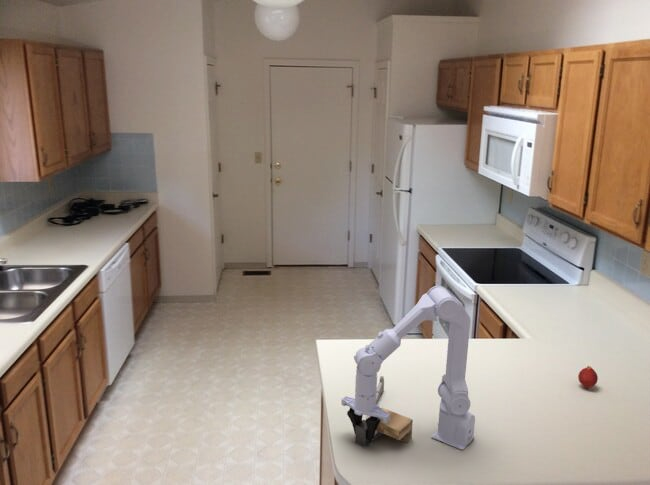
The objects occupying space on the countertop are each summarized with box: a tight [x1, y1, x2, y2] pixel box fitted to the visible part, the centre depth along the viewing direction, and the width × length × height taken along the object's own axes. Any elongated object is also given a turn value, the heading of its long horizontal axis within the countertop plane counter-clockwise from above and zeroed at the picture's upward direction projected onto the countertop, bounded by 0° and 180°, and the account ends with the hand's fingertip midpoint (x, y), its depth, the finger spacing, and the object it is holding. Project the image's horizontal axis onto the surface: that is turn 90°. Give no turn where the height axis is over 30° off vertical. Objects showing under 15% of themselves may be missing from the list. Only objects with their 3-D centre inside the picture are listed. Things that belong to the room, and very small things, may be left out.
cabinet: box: [376, 407, 414, 444], centre depth 161 cm, size 10×7×6 cm
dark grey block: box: [354, 419, 382, 448], centre depth 160 cm, size 8×4×6 cm, turn 139°
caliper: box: [365, 375, 385, 420], centre depth 177 cm, size 20×1×6 cm, turn 162°
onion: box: [577, 365, 599, 389], centre depth 190 cm, size 6×6×8 cm
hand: (364, 436), depth 159 cm, fingers closed on dark grey block, 4 cm apart
